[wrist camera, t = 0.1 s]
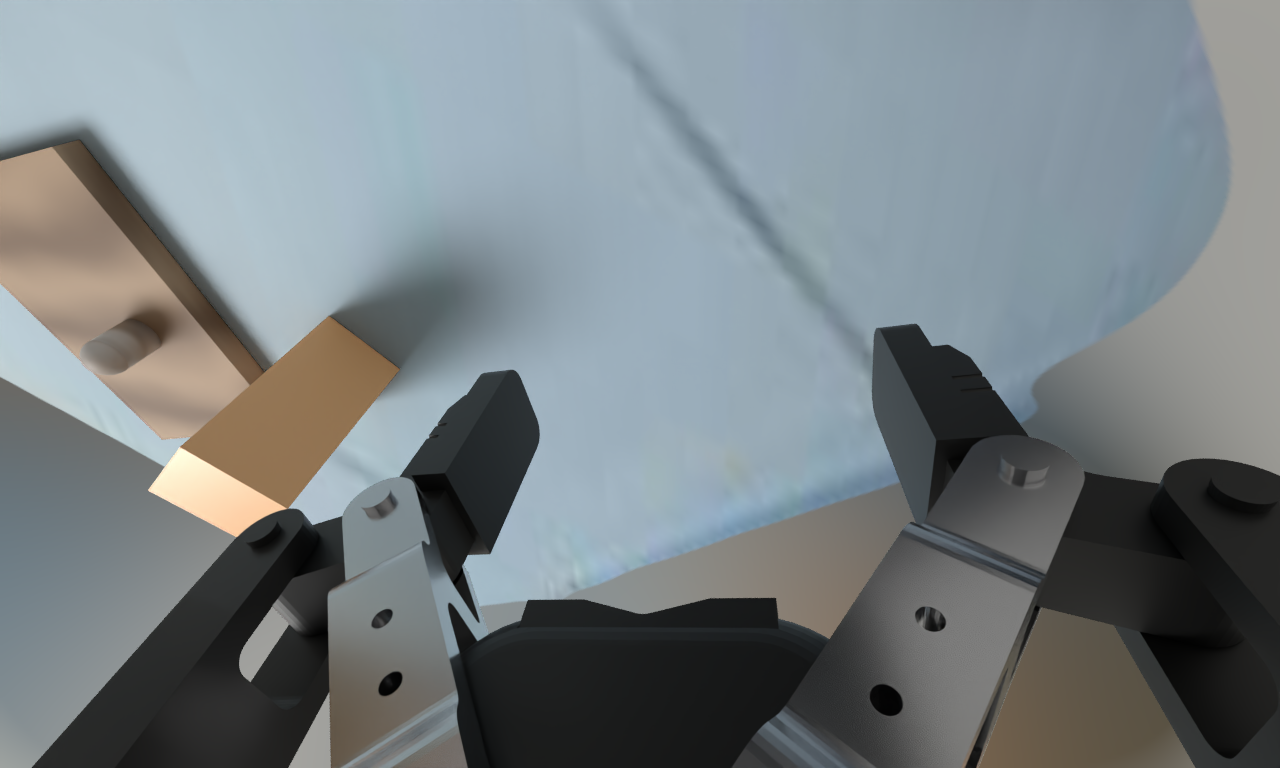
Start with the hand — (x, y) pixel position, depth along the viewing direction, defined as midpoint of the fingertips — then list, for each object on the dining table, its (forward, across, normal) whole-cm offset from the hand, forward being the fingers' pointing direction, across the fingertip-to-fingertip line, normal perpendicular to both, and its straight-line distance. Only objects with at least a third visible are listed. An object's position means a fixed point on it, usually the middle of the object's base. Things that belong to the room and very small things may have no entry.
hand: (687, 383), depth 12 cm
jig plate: (+18, +39, +1) cm, 43 cm away
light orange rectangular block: (+18, +26, +7) cm, 32 cm away
